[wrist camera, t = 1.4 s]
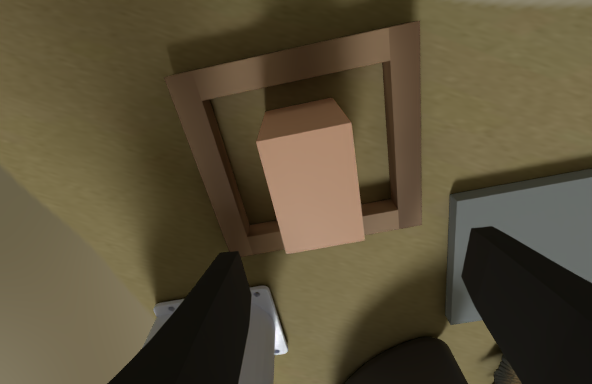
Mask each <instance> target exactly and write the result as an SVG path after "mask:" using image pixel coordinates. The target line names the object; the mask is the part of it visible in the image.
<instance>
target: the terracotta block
mask: <svg viewBox="0 0 592 384" xmlns="http://www.w3.org/2000/svg"><path fill="white" fill-rule="evenodd" d="M256 143H257V147H258V151H259V154H260V158H261V162H262V166H263V169H264V173H265V177H266V180H267V184H268V188H269V192H270V195H271V199H272V203H273V206H274V210H275V214H276V218H277V221H278V225H279V229H280V232H281V236H282V240H283V244H284V247H285V251H286V254H290V253H296V252H301V251H307V250H313V249H319V248H324V247H330V246H336V245H341V244H347V243H353V242H359V241H364V240H365V235H364V227H363V218H362V209H361V201H360V192H359V184H358V175H357V166H356V158H355V149H354V141H353V132H352V123H351V121H350V120H349V119H348V117H347V116H346V115H345V113H344V112H343V111H342V110H341V108H340V107H339V106H338V104H337V103H336V102H335V100H334V99H333V98H332V97H331V98H327V99H322V100H317V101H312V102H307V103H303V104H298V105H293V106H288V107H283V108H279V109H274V110H269V111H265V115H264V118H263V121H262V124H261V128H260V131H259V134H258V137H257V141H256Z"/></svg>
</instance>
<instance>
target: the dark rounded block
mask: <svg viewBox="0 0 592 384" xmlns="http://www.w3.org/2000/svg"><path fill="white" fill-rule="evenodd" d="M345 384H468V383H467V381H466V379H465V377H464V375H463V373H462V371H461V369H460V368H459V366H458V364H457V362H456V360H455V358H454V356H453V354H452V352H451V350H450V348H449V347H448V345H447V344H446V343H445V342H443V341H442V340H440V339H437V338H432V337H423V338H418V339H414V340H411V341H408V342H405V343H403V344H400V345H398V346H396V347H393V348H391V349H389V350H387V351H385V352H383V353H382V354H380V355H378V356H376V357H375V358H373V359H372V360H370V361H369V362H367V363H366V364H365V365H363V366H362V367H361V368H360V369H358V370H357V371H356V372H355V373H354V374H353V375H352V376H351V377H350V378H349V379H348V380H347V381H346V383H345Z"/></svg>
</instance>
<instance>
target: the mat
mask: <svg viewBox="0 0 592 384" xmlns="http://www.w3.org/2000/svg"><path fill="white" fill-rule="evenodd" d="M489 226H493V227H495V228H497V229H498V230H500V231H502V232H504V233H506V234H507V235H509V236H511V237H513V238H514V239H516V240H518V241H519V242H521V243H523V244H525V245H526V246H528V247H530V248H531V249H533V250H535V251H536V252H538V253H540V254H542V255H543V256H545V257H547V258H548V259H550V260H552V261H554V262H555V263H557V264H559V265H560V266H562V267H564V268H566V269H567V270H569V271H571V272H573V273H575V274H576V275H578V276H580V277H582V278H584V279H585V280H587V281H589V282H591V283H592V169H587V170H581V171H576V172H570V173H565V174H559V175H554V176H548V177H543V178H538V179H532V180H527V181H521V182H516V183H510V184H505V185H499V186H494V187H488V188H483V189H477V190H472V191H466V192H461V193H455V194H450V203H449V230H448V256H447V283H446V309H445V316H446V317H447V319H448V321H449V323H450V324H451V325H454V324H460V323H467V322H473V321H480V320H482V318H481V317H480V315H479V313H478V311H477V310H476V308H475V306H474V304H473V302H472V300H471V298H470V296H469V293H468V291H467V289H466V287H465V284H464V282H463V280H462V277H461V275H462V270H463V265H464V260H465V256H466V251H467V246H468V241H469V236H470V231H471V228H478V227H489Z"/></svg>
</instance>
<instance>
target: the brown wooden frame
mask: <svg viewBox="0 0 592 384" xmlns="http://www.w3.org/2000/svg"><path fill="white" fill-rule="evenodd" d="M381 62H382V65H383V80H384V96H385V112H386V128H387V144H388V159H389V175H390V191H391V199H388V200H383V201H377V202H372V203H366V204H361V209H362V218H363V227H364V235H369V234H374V233H380V232H386V231H391V230H397V229H403V228H408V227H414V226H420V225H422V189H421V94H420V21H414V22H408V23H403V24H399V25H394V26H389V27H385V28H380V29H376V30H371V31H367V32H362V33H358V34H353V35H349V36H344V37H340V38H335V39H331V40H326V41H322V42H317V43H313V44H308V45H304V46H299V47H295V48H290V49H286V50H281V51H277V52H272V53H268V54H263V55H259V56H254V57H250V58H245V59H241V60H236V61H232V62H227V63H223V64H218V65H214V66H209V67H205V68H200V69H196V70H191V71H187V72H182V73H178V74H173V75H170V76H167V77H164V79H165V82H166V85H167V87H168V90H169V93H170V95H171V98H172V101H173V103H174V106H175V108H176V111H177V114H178V116H179V119H180V122H181V124H182V127H183V130H184V132H185V135H186V138H187V140H188V143H189V146H190V148H191V151H192V154H193V156H194V159H195V162H196V164H197V167H198V170H199V172H200V175H201V178H202V180H203V183H204V186H205V188H206V191H207V194H208V196H209V199H210V202H211V204H212V207H213V210H214V212H215V215H216V218H217V220H218V223H219V225H220V228H221V231H222V233H223V236H224V239H225V241H226V244H227V247H228V249H229V252H233V251H239V254H240V257H244V256H250V255H256V254H261V253H267V252H273V251H278V250H284V249H285V247H284V244H283V240H282V236H281V232H280V229H279V225H278V221H277V220H274V221H269V222H263V223H258V224H252V225H250V224H249V221H248V218H247V215H246V212H245V209H244V206H243V202H242V199H241V196H240V193H239V190H238V187H237V184H236V181H235V177H234V174H233V171H232V168H231V165H230V162H229V159H228V156H227V153H226V149H225V146H224V143H223V140H222V137H221V134H220V131H219V128H218V125H217V121H216V118H215V115H214V112H213V109H212V106H211V103H210V100H209V99H213V98H218V97H223V96H227V95H232V94H237V93H241V92H246V91H251V90H255V89H260V88H265V87H269V86H274V85H279V84H283V83H288V82H293V81H297V80H302V79H307V78H311V77H316V76H321V75H325V74H330V73H335V72H339V71H344V70H349V69H353V68H358V67H363V66H367V65H372V64H377V63H381Z"/></svg>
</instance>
